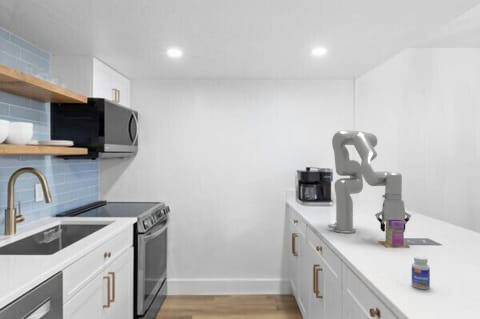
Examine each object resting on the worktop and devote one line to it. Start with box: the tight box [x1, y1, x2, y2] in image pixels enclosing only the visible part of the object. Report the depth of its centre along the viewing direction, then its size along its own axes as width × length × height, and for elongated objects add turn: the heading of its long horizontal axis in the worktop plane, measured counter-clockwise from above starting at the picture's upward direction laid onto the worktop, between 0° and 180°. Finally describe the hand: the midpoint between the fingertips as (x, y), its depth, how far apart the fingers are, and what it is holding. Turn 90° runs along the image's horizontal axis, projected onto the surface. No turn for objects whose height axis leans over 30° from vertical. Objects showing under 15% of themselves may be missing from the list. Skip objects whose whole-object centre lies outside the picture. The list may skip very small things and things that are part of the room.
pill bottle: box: [411, 255, 431, 290], centre depth 115 cm, size 5×5×10 cm
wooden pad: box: [378, 240, 411, 249], centre depth 172 cm, size 11×11×1 cm
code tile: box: [404, 237, 443, 246], centre depth 178 cm, size 18×14×1 cm
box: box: [385, 220, 405, 246], centre depth 172 cm, size 10×6×12 cm, turn 173°
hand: (392, 231), depth 172 cm, fingers open, 9 cm apart
